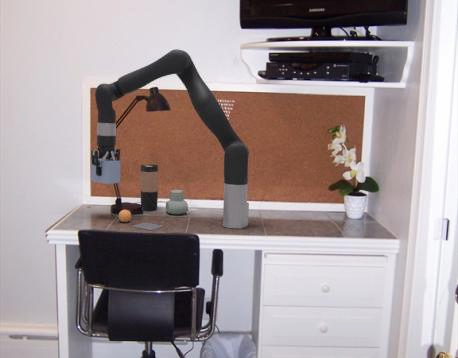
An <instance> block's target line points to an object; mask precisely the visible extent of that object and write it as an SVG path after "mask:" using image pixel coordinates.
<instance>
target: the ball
mask: <svg viewBox="0 0 458 358" xmlns="http://www.w3.org/2000/svg"><path fill="white" fill-rule="evenodd" d="M131 218H132V213H131V211H130V210H128V209H122V210H121V211H120V212H119V213H118V219H119V221H120V222H122V223H128V222H130V220H132V219H131Z"/></svg>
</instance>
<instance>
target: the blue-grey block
mask: <svg viewBox="0 0 458 358" xmlns="http://www.w3.org/2000/svg"><path fill="white" fill-rule="evenodd" d="M90 162H91V163H90V182H94V183H99V184H104V185H105V184H106V185H112V184H119V183H121V170H122V169H121V168H122V167H121V164H122V163H121V162H122V161H121V160H120V161H117V159H116V160H105V161H102V166H101V167H102V176H97V174H96V166H95V165H92V159H91V161H90ZM99 163H100V161H99Z"/></svg>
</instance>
